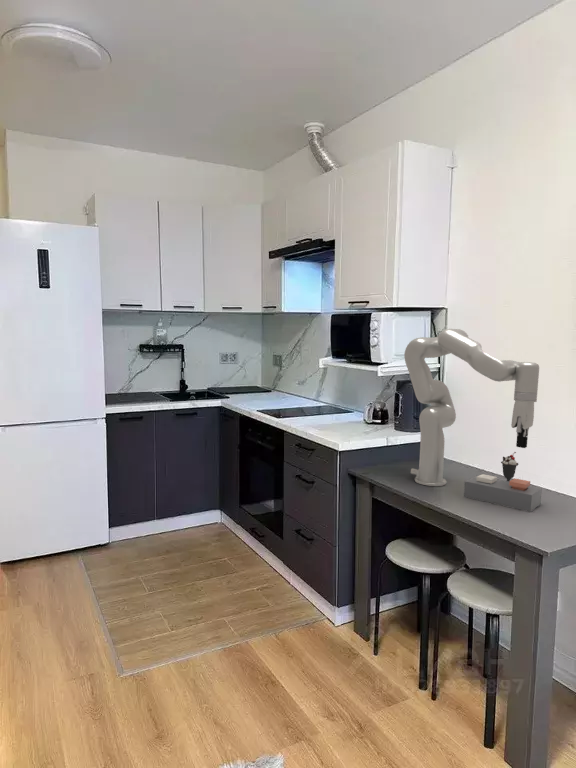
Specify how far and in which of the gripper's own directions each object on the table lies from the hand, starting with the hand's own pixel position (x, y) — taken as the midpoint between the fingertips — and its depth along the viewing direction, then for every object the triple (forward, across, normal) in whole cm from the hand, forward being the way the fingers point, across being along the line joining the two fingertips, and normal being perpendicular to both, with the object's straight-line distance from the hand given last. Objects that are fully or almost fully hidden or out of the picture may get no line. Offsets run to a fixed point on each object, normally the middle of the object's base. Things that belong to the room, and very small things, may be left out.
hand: (521, 447), depth 193 cm
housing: (+21, 0, -6) cm, 22 cm away
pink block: (+20, 0, 0) cm, 20 cm away
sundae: (+21, -19, -10) cm, 30 cm away
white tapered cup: (+21, 0, -12) cm, 24 cm away
